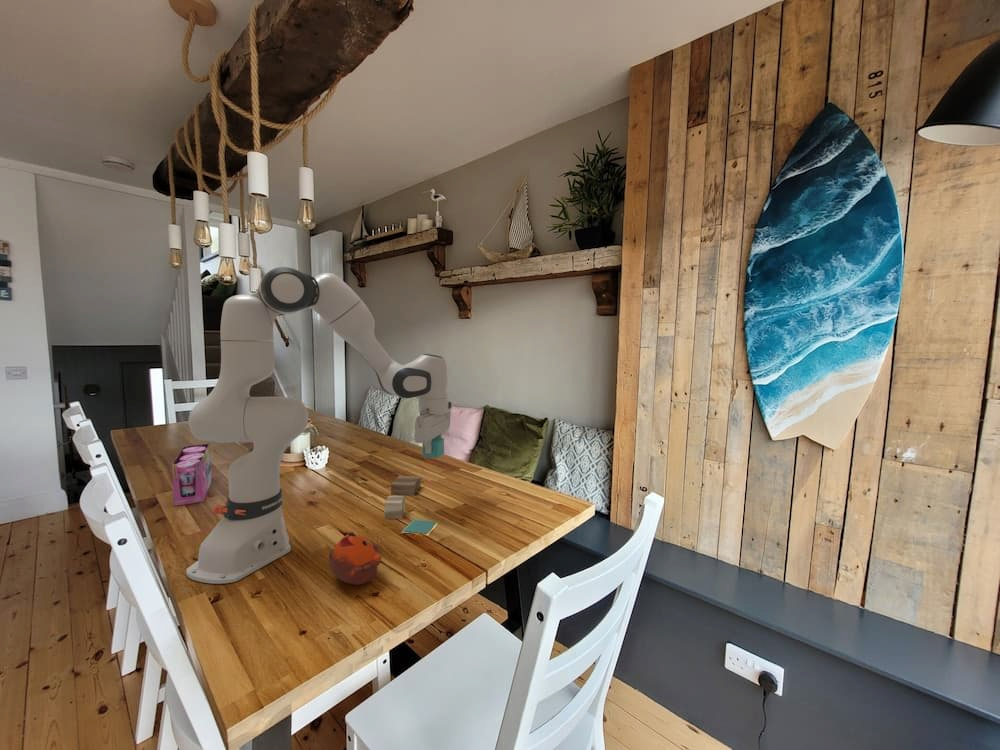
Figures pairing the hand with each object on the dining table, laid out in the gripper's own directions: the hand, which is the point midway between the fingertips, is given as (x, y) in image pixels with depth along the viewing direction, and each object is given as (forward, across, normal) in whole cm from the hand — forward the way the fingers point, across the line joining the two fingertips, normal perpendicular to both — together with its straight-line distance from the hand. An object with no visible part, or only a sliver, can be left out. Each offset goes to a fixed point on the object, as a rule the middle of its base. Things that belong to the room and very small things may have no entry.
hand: (433, 450), depth 128 cm
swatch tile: (+19, -13, -2) cm, 23 cm away
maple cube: (+19, -7, +10) cm, 22 cm away
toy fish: (+20, -39, +2) cm, 44 cm away
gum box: (+18, -10, +83) cm, 86 cm away
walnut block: (+19, +11, +15) cm, 26 cm away
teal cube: (+2, 0, 0) cm, 2 cm away
